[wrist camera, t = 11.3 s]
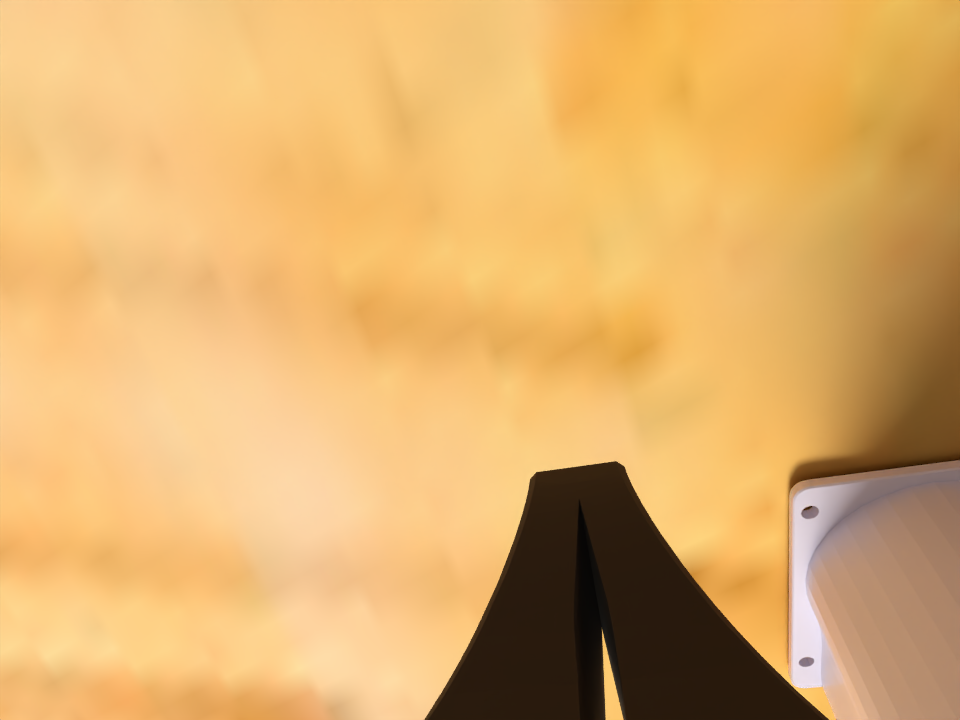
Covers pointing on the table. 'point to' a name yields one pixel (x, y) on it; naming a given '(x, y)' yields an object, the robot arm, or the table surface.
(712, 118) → the table surface
